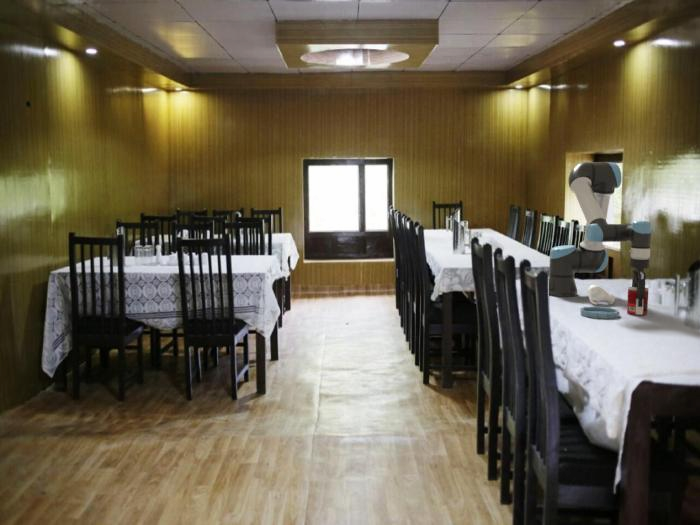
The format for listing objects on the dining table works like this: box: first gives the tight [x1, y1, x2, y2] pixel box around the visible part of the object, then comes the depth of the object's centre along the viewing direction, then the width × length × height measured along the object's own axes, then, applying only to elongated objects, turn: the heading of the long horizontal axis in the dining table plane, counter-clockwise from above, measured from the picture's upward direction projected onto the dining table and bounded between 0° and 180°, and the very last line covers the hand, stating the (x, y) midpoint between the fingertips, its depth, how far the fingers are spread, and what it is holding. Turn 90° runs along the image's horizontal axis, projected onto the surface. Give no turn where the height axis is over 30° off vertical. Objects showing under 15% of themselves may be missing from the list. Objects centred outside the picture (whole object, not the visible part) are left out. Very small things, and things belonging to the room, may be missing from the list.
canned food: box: [626, 286, 649, 317], centre depth 322 cm, size 8×8×11 cm
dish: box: [579, 306, 620, 320], centre depth 319 cm, size 15×15×2 cm
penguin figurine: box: [587, 284, 616, 306], centre depth 345 cm, size 6×8×12 cm
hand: (637, 312), depth 323 cm, fingers closed on canned food, 8 cm apart
